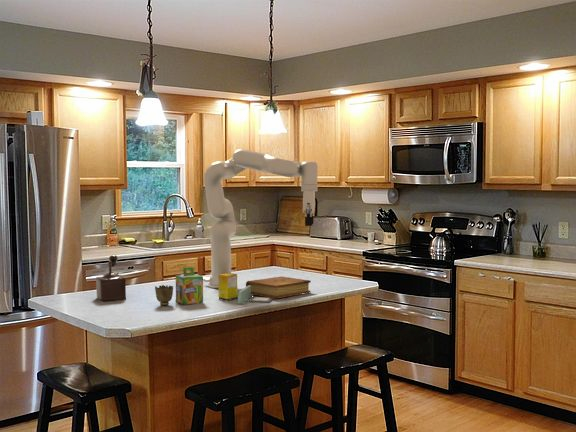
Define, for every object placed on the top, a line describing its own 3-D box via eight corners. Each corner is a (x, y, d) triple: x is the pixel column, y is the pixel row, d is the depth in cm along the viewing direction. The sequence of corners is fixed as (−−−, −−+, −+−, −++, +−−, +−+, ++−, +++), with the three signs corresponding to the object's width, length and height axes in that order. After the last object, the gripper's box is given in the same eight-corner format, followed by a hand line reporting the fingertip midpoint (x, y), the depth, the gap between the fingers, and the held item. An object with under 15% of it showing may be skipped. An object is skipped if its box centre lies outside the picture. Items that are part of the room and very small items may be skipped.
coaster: (248, 302, 271) (248, 300, 270) (253, 298, 279) (253, 296, 279) (269, 302, 269) (269, 301, 269) (273, 298, 278) (273, 297, 278)
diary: (280, 288, 305) (280, 276, 305) (310, 293, 292) (310, 280, 292) (245, 293, 288) (245, 280, 287) (276, 298, 275) (276, 285, 275)
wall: (236, 304, 267) (236, 292, 267) (246, 296, 284) (246, 285, 283) (243, 304, 266) (243, 292, 266) (253, 296, 283) (253, 285, 283)
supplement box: (228, 297, 282) (228, 272, 281) (237, 298, 278) (237, 273, 277) (218, 299, 278) (218, 274, 277) (227, 300, 274) (227, 275, 273)
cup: (165, 302, 270) (165, 284, 269) (177, 305, 265) (177, 286, 264) (151, 305, 264) (151, 286, 263) (163, 308, 259) (162, 288, 259)
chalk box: (183, 305, 264) (183, 270, 263) (174, 301, 272) (174, 267, 271) (204, 303, 269) (203, 268, 268) (194, 299, 277) (194, 265, 276)
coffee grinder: (128, 299, 278) (127, 258, 277) (102, 302, 272) (101, 259, 271) (117, 293, 291) (116, 254, 290) (92, 296, 286) (92, 256, 284)
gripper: (302, 187, 306) (302, 223, 307) (299, 188, 289) (299, 226, 290) (318, 187, 305) (318, 223, 306) (316, 188, 288) (316, 226, 289)
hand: (309, 225), depth 298 cm, fingers open, 9 cm apart
